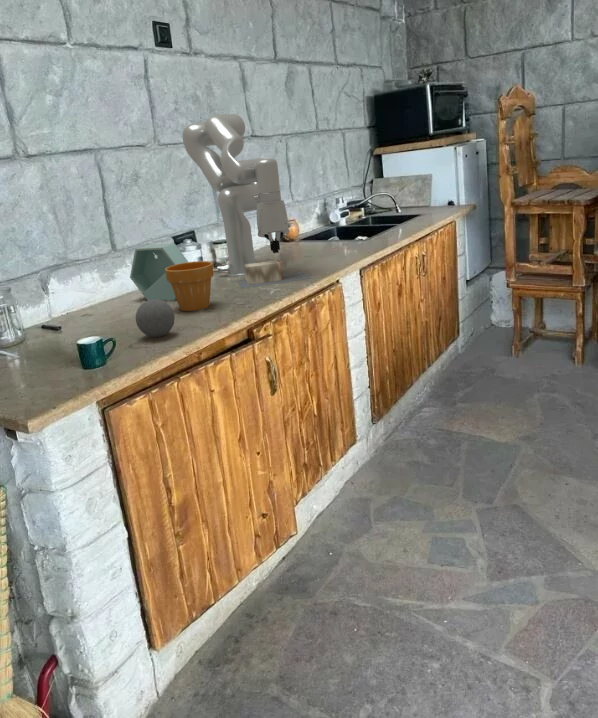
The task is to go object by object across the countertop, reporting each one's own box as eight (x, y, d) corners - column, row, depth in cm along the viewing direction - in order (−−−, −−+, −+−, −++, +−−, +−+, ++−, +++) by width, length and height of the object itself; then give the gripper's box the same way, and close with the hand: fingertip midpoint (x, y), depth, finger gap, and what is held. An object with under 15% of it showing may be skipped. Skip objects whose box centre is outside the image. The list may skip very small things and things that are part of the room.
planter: (158, 314, 227) (119, 264, 225) (169, 308, 234) (132, 259, 232) (191, 285, 219) (151, 233, 217) (202, 280, 226) (163, 229, 224)
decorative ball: (175, 339, 177) (169, 301, 174) (136, 343, 177) (129, 306, 174) (178, 329, 187) (173, 293, 184) (142, 333, 186) (135, 297, 183)
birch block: (283, 279, 234) (248, 284, 232) (280, 276, 240) (246, 281, 238) (281, 262, 232) (246, 267, 230) (278, 259, 238) (244, 264, 236)
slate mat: (241, 289, 228) (240, 288, 228) (236, 282, 241) (236, 280, 241) (311, 279, 232) (311, 278, 231) (303, 272, 245) (303, 271, 245)
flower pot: (222, 300, 216) (216, 259, 212) (213, 311, 202) (207, 268, 198) (177, 304, 217) (171, 263, 213) (166, 315, 204) (159, 272, 200)
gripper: (248, 201, 224) (255, 257, 229) (293, 195, 226) (299, 251, 231) (246, 199, 231) (252, 253, 236) (289, 194, 233) (295, 248, 239)
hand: (275, 252), depth 234 cm, fingers closed
